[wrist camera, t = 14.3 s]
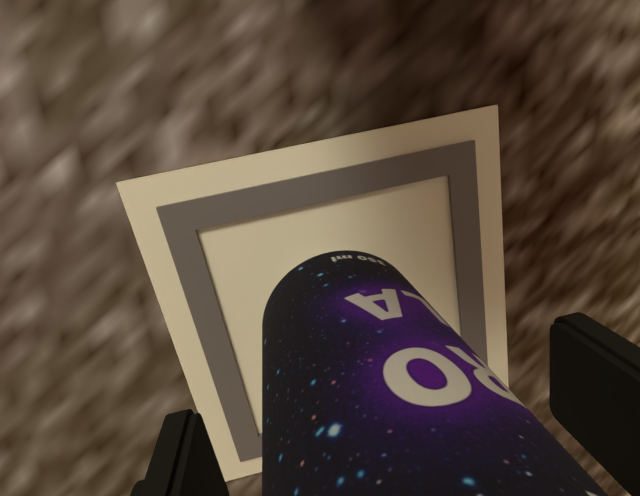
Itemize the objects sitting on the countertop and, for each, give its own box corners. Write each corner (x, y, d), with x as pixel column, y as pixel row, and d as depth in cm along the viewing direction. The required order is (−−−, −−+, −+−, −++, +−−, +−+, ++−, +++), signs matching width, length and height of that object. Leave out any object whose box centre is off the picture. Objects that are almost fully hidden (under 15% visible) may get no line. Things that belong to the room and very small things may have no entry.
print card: (505, 402, 18) (511, 409, 18) (223, 476, 17) (222, 486, 17) (492, 105, 14) (501, 104, 13) (119, 181, 13) (114, 183, 12)
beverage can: (410, 364, 16) (746, 911, 5) (273, 388, 16) (301, 1067, 4) (406, 233, 15) (914, 617, 3) (251, 254, 14) (206, 810, 3)
